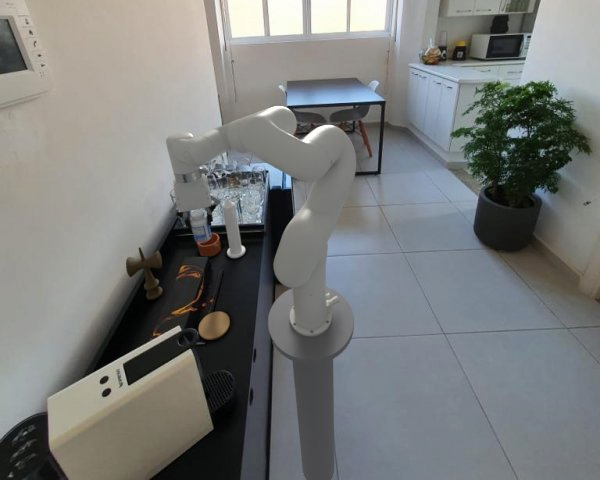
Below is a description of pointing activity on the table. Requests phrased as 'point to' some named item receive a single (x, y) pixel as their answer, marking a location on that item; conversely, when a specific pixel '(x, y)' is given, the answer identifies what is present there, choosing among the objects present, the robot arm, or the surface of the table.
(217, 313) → the coaster
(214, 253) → the pot
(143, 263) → the kendama
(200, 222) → the pill bottle
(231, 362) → the table surface
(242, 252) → the candle
